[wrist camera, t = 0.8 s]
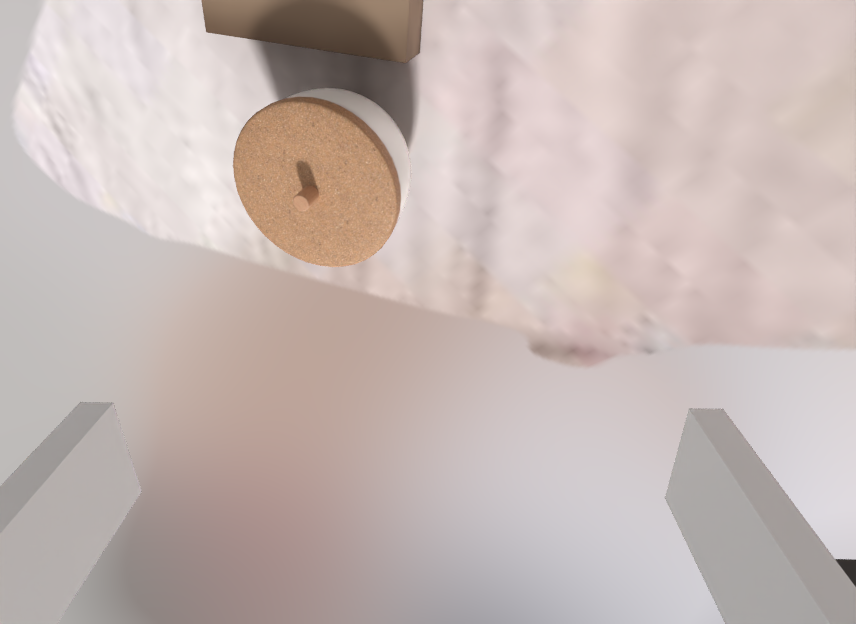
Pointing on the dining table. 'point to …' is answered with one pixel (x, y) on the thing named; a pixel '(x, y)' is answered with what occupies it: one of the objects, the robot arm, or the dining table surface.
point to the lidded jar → (323, 175)
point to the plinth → (324, 24)
